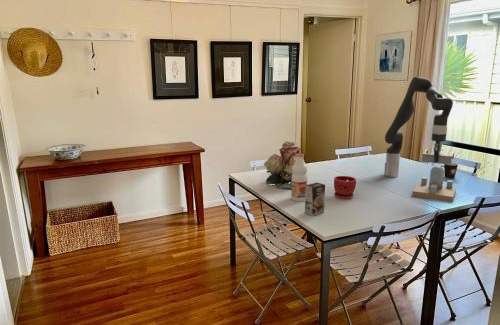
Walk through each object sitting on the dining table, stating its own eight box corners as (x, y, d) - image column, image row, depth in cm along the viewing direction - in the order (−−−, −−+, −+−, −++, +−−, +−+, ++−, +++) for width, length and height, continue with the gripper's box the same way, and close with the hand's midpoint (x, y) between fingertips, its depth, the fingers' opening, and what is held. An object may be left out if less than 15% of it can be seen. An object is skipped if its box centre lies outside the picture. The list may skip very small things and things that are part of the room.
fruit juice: (294, 195, 228) (295, 152, 222) (309, 198, 224) (310, 153, 217) (288, 200, 220) (289, 155, 214) (303, 202, 216) (304, 156, 209)
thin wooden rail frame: (421, 161, 220) (422, 153, 219) (425, 156, 234) (426, 148, 233) (451, 164, 212) (452, 156, 211) (454, 158, 226) (454, 151, 225)
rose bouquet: (259, 185, 251) (259, 142, 244) (285, 176, 272) (285, 136, 265) (290, 193, 234) (290, 147, 227) (315, 182, 255) (316, 140, 248)
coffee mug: (455, 176, 264) (457, 162, 261) (456, 179, 256) (458, 165, 254) (437, 174, 269) (439, 161, 266) (438, 177, 261) (439, 164, 259)
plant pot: (351, 201, 216) (352, 182, 213) (330, 198, 223) (331, 179, 220) (358, 195, 227) (359, 176, 224) (337, 192, 234) (338, 174, 231)
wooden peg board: (412, 195, 225) (414, 169, 221) (417, 186, 242) (420, 162, 238) (452, 201, 213) (455, 174, 209) (455, 191, 230) (458, 166, 226)
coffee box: (313, 216, 195) (313, 187, 191) (304, 213, 200) (305, 184, 196) (324, 212, 200) (325, 184, 196) (316, 209, 205) (316, 181, 201)
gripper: (433, 130, 220) (430, 158, 224) (430, 133, 209) (427, 163, 213) (447, 131, 216) (444, 160, 220) (445, 134, 205) (442, 164, 209)
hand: (436, 161), depth 216 cm, fingers closed on thin wooden rail frame, 1 cm apart
